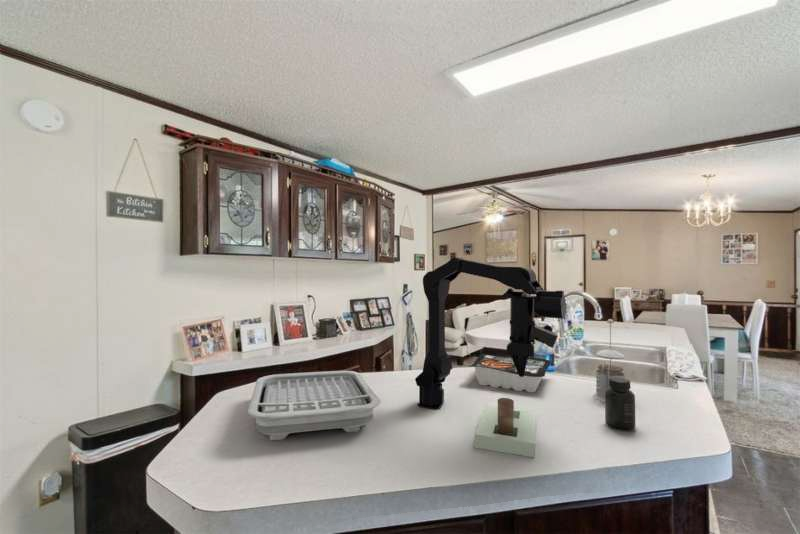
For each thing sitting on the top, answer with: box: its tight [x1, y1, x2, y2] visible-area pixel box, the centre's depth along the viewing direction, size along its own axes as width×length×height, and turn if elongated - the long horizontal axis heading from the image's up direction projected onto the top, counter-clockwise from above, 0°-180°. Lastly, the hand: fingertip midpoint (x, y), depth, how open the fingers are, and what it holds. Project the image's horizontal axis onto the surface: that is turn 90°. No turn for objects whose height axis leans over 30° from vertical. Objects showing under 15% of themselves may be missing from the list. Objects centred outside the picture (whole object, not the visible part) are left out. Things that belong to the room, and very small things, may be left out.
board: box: [473, 404, 537, 458], centre depth 93 cm, size 20×13×3 cm, turn 160°
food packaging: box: [468, 353, 552, 393], centre depth 136 cm, size 25×8×23 cm
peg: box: [497, 397, 515, 436], centre depth 88 cm, size 4×4×10 cm
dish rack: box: [246, 370, 381, 441], centre depth 104 cm, size 32×37×8 cm
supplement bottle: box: [604, 378, 636, 432], centre depth 99 cm, size 7×7×12 cm
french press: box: [592, 318, 626, 403], centre depth 119 cm, size 10×12×25 cm
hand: (521, 376), depth 97 cm, fingers closed
